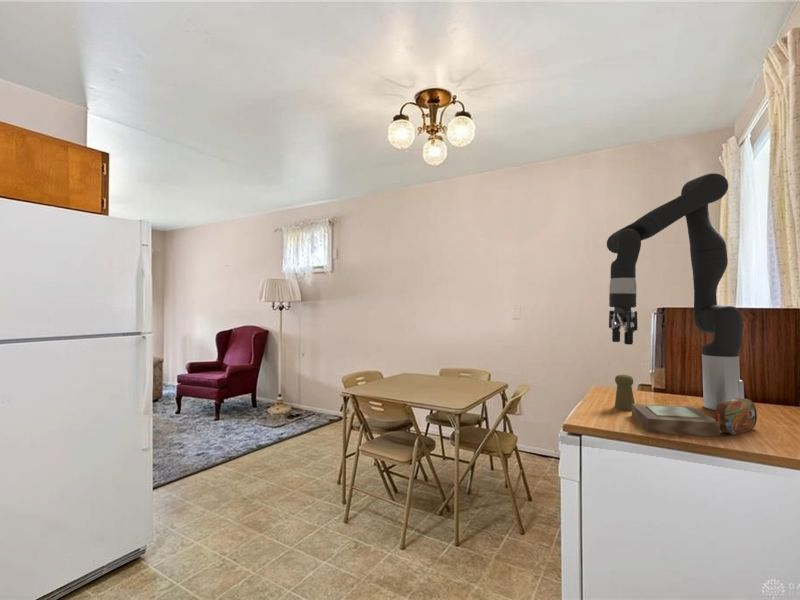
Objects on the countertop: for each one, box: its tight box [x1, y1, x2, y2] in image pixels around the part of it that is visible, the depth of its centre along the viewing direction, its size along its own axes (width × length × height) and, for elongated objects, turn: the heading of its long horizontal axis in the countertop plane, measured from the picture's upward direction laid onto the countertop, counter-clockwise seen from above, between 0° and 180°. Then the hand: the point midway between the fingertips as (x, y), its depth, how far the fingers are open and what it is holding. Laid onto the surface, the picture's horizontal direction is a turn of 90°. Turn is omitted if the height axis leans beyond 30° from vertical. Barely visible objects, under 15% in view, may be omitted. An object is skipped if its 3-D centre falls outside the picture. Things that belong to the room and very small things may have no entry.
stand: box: [631, 403, 721, 438], centre depth 108 cm, size 16×16×4 cm
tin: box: [714, 398, 758, 436], centre depth 102 cm, size 15×3×8 cm, turn 114°
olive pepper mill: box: [614, 374, 636, 412], centre depth 125 cm, size 6×6×11 cm
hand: (622, 343), depth 122 cm, fingers open, 8 cm apart
